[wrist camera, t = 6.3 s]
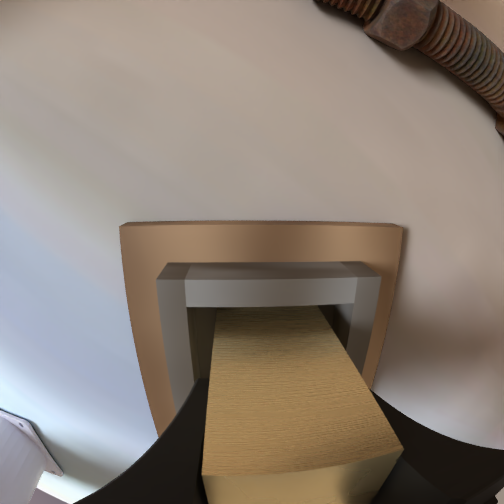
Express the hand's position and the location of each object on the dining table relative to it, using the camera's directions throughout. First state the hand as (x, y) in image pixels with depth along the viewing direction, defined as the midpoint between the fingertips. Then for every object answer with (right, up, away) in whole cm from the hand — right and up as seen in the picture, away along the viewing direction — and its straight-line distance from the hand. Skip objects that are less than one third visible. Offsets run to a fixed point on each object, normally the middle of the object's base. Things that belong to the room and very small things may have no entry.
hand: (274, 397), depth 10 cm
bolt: (+9, +16, +1) cm, 18 cm away
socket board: (0, -4, +6) cm, 7 cm away
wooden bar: (0, +1, +3) cm, 3 cm away
